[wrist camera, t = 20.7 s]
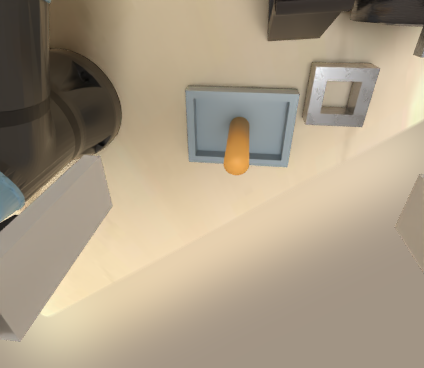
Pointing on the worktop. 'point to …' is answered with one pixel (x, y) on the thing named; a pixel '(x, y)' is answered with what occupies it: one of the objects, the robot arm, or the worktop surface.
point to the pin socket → (358, 99)
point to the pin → (237, 147)
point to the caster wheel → (392, 15)
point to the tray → (247, 108)
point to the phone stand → (303, 17)
